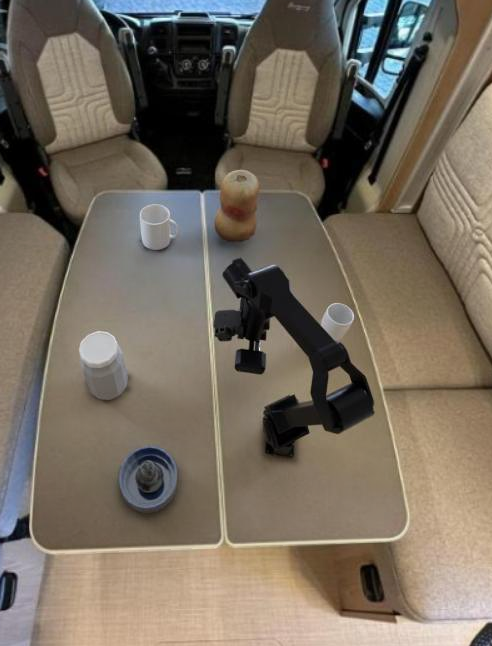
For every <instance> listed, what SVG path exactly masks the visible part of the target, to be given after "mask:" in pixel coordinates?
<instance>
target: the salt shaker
mask: <svg viewBox="0 0 492 646" xmlns="http://www.w3.org/2000/svg"><path fill="white" fill-rule="evenodd" d="M135 477H136V484H137V486H138V488H139V489H140V490H141V491H142V492H143V493H144V494H147V495H153V494H155V493H157V492H158V491H159V490H160V488H161V486H162V482H163V478H164V477H163V471H162V469H161V467H160V466H159V465H158V464H156V463H153V462H152V461H150V460H146V461H144V462H143V463H142V465H141V466H140V468H139V469H138V470H137V472H136V476H135Z"/></svg>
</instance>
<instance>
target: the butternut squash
mask: <svg viewBox="0 0 492 646" xmlns="http://www.w3.org/2000/svg"><path fill="white" fill-rule="evenodd" d="M259 193H260V184H259V181H258V178H257V176H256V175H255V174H253V173H252V172H250V171H248V170H245V169H237V170H236V169H235V170H233V171H230V172H229V173H228V174H226V175H225V176H224V178H223V179H222V182H221V187H220V194H219V202H220V207H219V209H218V210H217V212H216V214H215V215H214V220H213V222H214V223H213V224H214V229H215V231H216V232H215V233H216V234H217V235H218V236H219V237H220V239H222V240H223V241H225V242H230V243H243V242H245V241H249V240H250V239H251V238H252V237H254V236H255V234H256V231H257V230H256V229H257V226H258V219H257V213H256V212H257V210H258V196H259Z"/></svg>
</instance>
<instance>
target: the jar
mask: <svg viewBox="0 0 492 646" xmlns="http://www.w3.org/2000/svg"><path fill="white" fill-rule="evenodd" d="M78 353H79V356H80V358H79V364H80V367H81V370H82V372H83V376H84V378H85V381H86V383H87V386H88V389H89V391H90V394H91V395H93V396H94V397H95V398H97V399H98V400H106V401H110V400H113V399H115V398H117V397H120V396H121V394H122V393H123V392H124V391H125V390H126V389H127V384H128V380H129V378H128V372H127V368H126V363H125V357H124V354H123V351H122V349H121V347H120V345H119V344H118V342H117V340H116V337H115V336H114V335H112V334H111V333H110V332H107V331H95V332H93V333H89V334H87V335H86V336H85V337H84V338H83V339H82V340H81V342H80V344H79V348H78Z"/></svg>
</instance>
